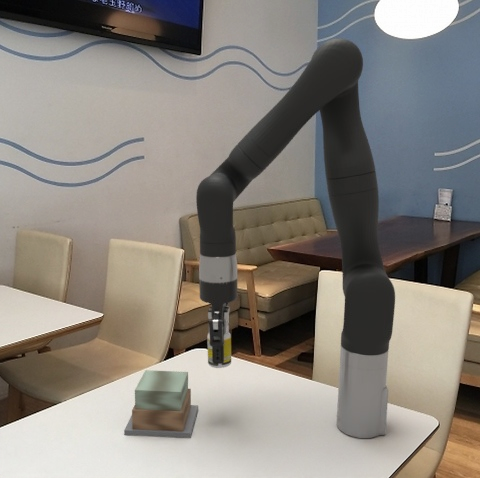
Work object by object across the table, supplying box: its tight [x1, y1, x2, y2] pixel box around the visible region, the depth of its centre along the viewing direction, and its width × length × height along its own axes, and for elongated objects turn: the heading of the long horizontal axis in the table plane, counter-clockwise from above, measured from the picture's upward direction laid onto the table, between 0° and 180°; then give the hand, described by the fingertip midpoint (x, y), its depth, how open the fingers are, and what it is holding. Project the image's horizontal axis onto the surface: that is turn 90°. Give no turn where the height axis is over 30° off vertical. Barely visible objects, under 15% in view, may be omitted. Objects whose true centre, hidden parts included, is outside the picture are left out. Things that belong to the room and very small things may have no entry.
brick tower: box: [131, 369, 192, 431], centre depth 110 cm, size 10×10×8 cm
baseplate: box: [123, 404, 199, 439], centre depth 111 cm, size 13×11×1 cm
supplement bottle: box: [206, 323, 232, 369], centre depth 110 cm, size 5×5×8 cm
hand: (219, 357), depth 110 cm, fingers closed on supplement bottle, 4 cm apart
